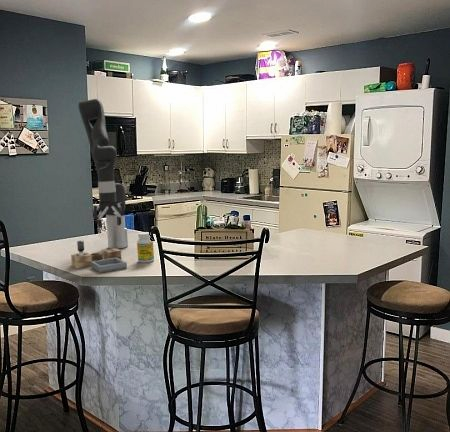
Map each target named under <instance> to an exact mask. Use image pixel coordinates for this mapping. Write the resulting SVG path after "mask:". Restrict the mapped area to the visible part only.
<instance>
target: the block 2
mask: <svg viewBox="0 0 450 432" xmlns="http://www.w3.org/2000/svg"><path fill="white" fill-rule="evenodd" d="M110 258H118V259H120V260H122V250H121V249H120V248H119V249H117V248H114V249H111V248H108V249H104V250H103V260H104V259H110Z"/></svg>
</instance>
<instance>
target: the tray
mask: <svg viewBox="0 0 450 432" xmlns="http://www.w3.org/2000/svg"><path fill="white" fill-rule="evenodd" d="M127 264H128V263H127V261H125V260H123V259H121V260H120V259H118V258H110V259H104V258H103V260H98V261H92V262H91V266H90V267H91V269H94V270H95V271H97V272H99V273H100V274H102V273H108V272H112V271H113V272H114V271H120V270H125V269H127V268H128V267H127V266H128V265H127Z"/></svg>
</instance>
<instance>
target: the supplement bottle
mask: <svg viewBox="0 0 450 432" xmlns="http://www.w3.org/2000/svg"><path fill="white" fill-rule="evenodd" d="M150 235H151V234H150ZM150 235H149V232H148V231H143V232H139V233H138V239H137V241H136V247H137V248H136V249H137V260H138V262H139V263H151V262H153V261H154V260H155V254H154V253H155V252H154V240H153V241H151V240H150V238H151V236H150Z"/></svg>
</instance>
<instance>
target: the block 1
mask: <svg viewBox="0 0 450 432" xmlns="http://www.w3.org/2000/svg"><path fill="white" fill-rule="evenodd" d="M83 252H84V255H82V256H79V252H78V253H71V254H70V259H71V266H73V267H74V268H75V269H82V268H88V267H92V266H91V262H92V255H91V254H92V253H89V252H88V251H83Z"/></svg>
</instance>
